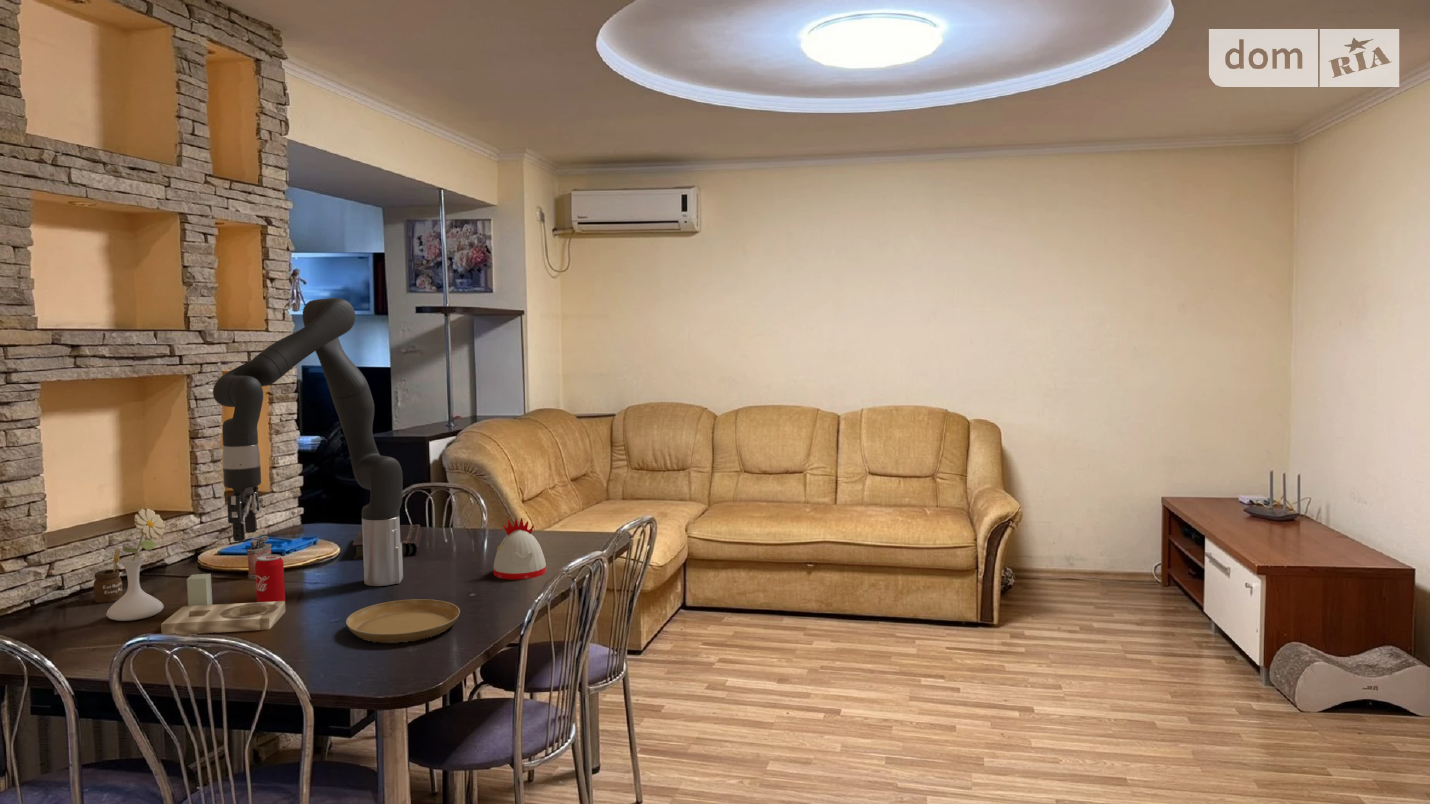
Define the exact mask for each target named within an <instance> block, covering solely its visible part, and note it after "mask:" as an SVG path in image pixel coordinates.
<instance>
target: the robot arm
mask: <svg viewBox="0 0 1430 804" xmlns="http://www.w3.org/2000/svg"><path fill="white" fill-rule="evenodd" d="M355 321H356V312H355V309H354V307H353V305H352V304H351V303H350V301H348V300H346V299H343V298H338V297H330V298H318V299H317V298H316V299H313V300H309V301H308V302H306V304H304V306H303V309H302V322H303V323H302V324H303V327H302V328H301V329H299V330H297V331H295V332H293V333H291V334H288V335H287V336H285V337H282V338H280V339H278V340H277V341H274V342H273V343H272V344H270V345H268V346H267V347H266V348H264V349H263V350H262V351H261V352H259V353H257V355H256V356H255V357H253V358H252V359H251V360H250V361H248V362H246V363H242V364H241V365H239V366H237V367H235V368H233V369H231V370H229V371H228V372H225V374H223V375H221V376H220V377H219V378H218V379H217V380H216V382H215V383H214V385H213V388H212V395H213V398H214V401H216V403H217V404H219V405H221V406H223V407H226V408H227V407H228V408H234V410H233V415H232V417H231V418H228V419H226V420H224V421H223V422H222V427H221V429H222V473H223V477H222V478H223V486H224V487H225V488H227V489H232V495H228V496H227V499H226V500H227V523H228V524H231V525H232V539H233V541H234V542H244V541H245V540H246V533H248V534H250V533H252V534H253V533H255V532H257V531H258V530H257V515H258V512H259V511H260V509H261V508H260V499H259V496H260V495H259V486H260V485H261V483H262V472H261V471H262V470H261V469H262V467H261V454H260V452H261V451H260V448H259V437H258V436H259V434H258V425H259V424H258V423H259V421H260V416H261V411H262V407H263V403H264V402H263V401H264V389H263V387H268V386H271V385H273V384H275V383H276V382H277V381H278V380H280V379H281V378H282V377H283V376H285V374H287V373H288V372H289V371H290V370H292V369H293V368H294V367H295V366H296V365H298V364H299V363H301V362H302V361H303V360H304V359H306V358H307V357H308V356H309V357H310V355H312V354H313V353H316V356H317V358H318V360H319V363H320V366H321V368H322V372H323V374H324V377H325V379H326V383H327V386H328V389H329V393H330V396H331V399H332V403H333V405H334V408H335V411H336V414H337V416H338V420H339V421H340V426H341V429H342V432H343V436H344V438H345V441H346V445H347V449H348V452H349V456H350V457H349V458H350V462H351V463H350V464H351V467H352V472H353V475H354V476H353V477H354V479H355V481H356V482H357V484H358V485H359V486H360V487H361V488H362V489H365V490H369V492H370V497H369V503H368V504H366V505H364V506H363V507H362V509H361V528H362V531H363V559H362V560H363V581H364V584H365V585H366V586H371V587H382V586H383V587H384V586H390V585H396V584H397V585H398V584H400V583H401V582H402V580H403V579H404V567H403V556H402V543H401V542H400V525H401V524H400V522H401V521H400V510H401V507H402V504H403V487H404V486H403V480H404V479H403V478H404V477H403V470H402V467H401V464H400V461H398V460H397V459H396V458H394V457H391V456H388V455H387V456H386V455H381V454H380V452H379V449H378V448H377V444H376V442H375V437H374V434H373V425H374V418H375V403H374V399H373V395H372V391H371V388H370V385H369V383H368V381H367V379H366V377H365V376H364V374H363V373H362V371H361V370H360V369H359V368H358V367H357V365H355V364H354V362H353V361H352V360H351V359H350V358H349V356H348V355H347V353H345V350H344V349H343V346H342V344H341V342H340V339H339V337H341V336H344V335H345V334H347V333H348V332H349V331H350V330H351V329H352V328H353V326H354V325H355Z"/></svg>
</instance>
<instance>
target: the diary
mask: <svg viewBox="0 0 1430 804" xmlns="http://www.w3.org/2000/svg"><path fill="white" fill-rule="evenodd" d="M422 533H423V531H422V527H421V525H420V524H400V542H401V543H402V557H405V556H406V554H407V557H409V556H411V554H412V553H413V552H414V549H415V552H414V557H416V556H417V554H418V551H419V546H420V543H421V537H422ZM351 546H353V548H355V547H356V550H355V555H354V557H352V561H354V560H355V561H357V560H364V559H363V531H362V527H361V528H360V530H359V532H358V534H357V536H356V537H355V539H354V541H353V542H352V545H351Z"/></svg>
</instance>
